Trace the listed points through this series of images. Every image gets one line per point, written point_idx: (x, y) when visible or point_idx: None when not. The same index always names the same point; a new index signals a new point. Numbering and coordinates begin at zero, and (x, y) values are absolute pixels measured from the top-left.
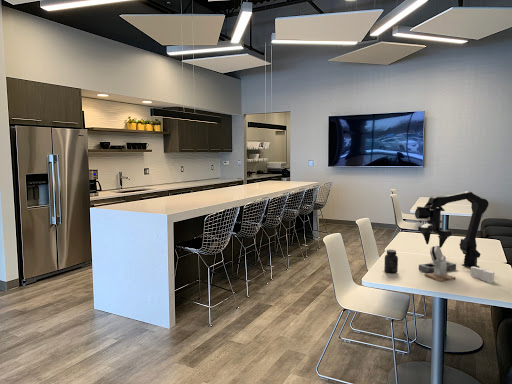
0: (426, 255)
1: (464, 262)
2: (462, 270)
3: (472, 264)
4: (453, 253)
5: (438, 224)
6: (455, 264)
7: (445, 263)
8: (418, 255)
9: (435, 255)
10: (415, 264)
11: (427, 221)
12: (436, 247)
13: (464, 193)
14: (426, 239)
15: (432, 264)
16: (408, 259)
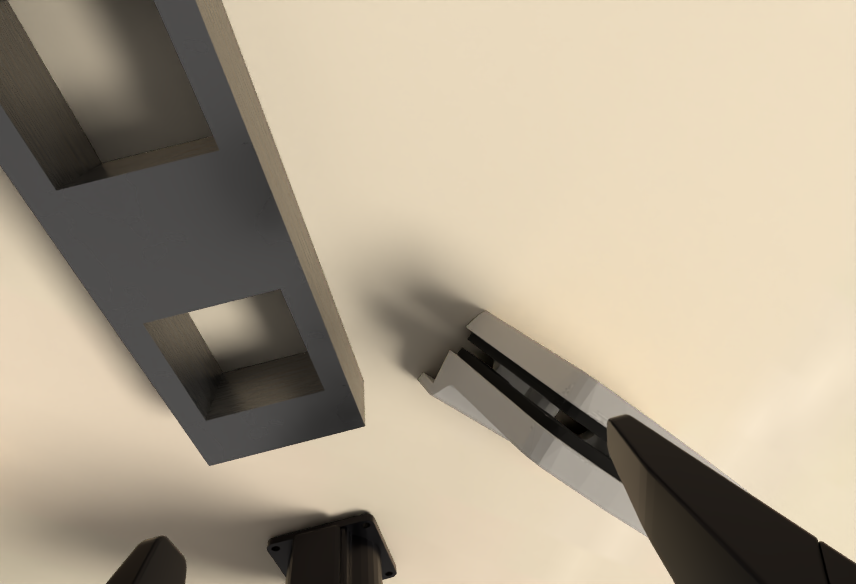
0: (770, 394)
1: (330, 553)
2: (191, 453)
3: (287, 579)
4: None
5: None
6: (204, 456)
7: None
8: (819, 323)
9: (506, 398)
10: (515, 38)
11: None
12: (633, 525)
13: None
14: (710, 543)
15: (175, 161)
16: (770, 96)
